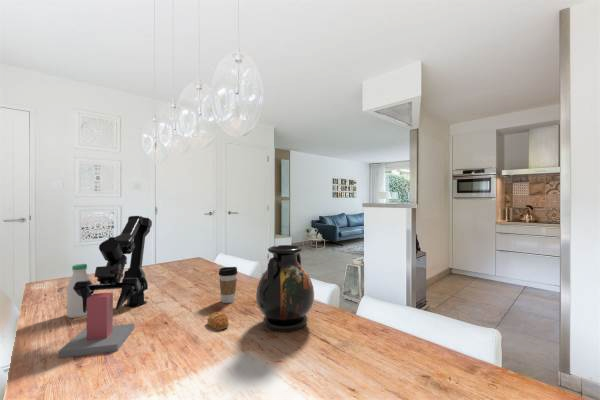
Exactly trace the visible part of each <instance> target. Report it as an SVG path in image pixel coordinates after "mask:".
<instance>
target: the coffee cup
mask: <svg viewBox="0 0 600 400" xmlns="http://www.w3.org/2000/svg"><path fill="white" fill-rule="evenodd" d="M237 275H238V267H237V266H227V267H226V266H224V267H220V268H219V270H218V276H219V289H220V300H221V303H222V304H230V303H234V302H235V301H236V291H237V277H238V276H237Z"/></svg>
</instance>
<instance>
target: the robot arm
mask: <svg viewBox="0 0 600 400" xmlns="http://www.w3.org/2000/svg"><path fill="white" fill-rule="evenodd" d="M126 222H127V223H126V224H125V225H124V227H123V229H122V231H121V233H120V234H119V235H117V236H112V237H110V236H109V237H108V239H106V240H104V241H102V242H101V243H100V244H99V246H98V250H99V251H100V253H101V256H102V258H103V259H104V261H106V265H103V266H96V267H95V270H94V271H95V272H94V276H93V277H94V278H97V279H96V280H97V282H99V283H92V281H91V280H90V281H78V282H76V283H75V284H74V287H73V289H74V290H75V292H76V293H77V294H78V296H81V297H82V300H83V312H84V313H86V311H87V298H88V297H90V296H91V295H93V294H94V292H95V291H102V290H115V289H116V290H118V289H119V290H121V292H120V295H119V297H118V300H117V303H116V308H115V310H116V311H118V310H120V308H121V307H122V306H125V307H130V308H136V307H138V306H141V305H144V304H147V301H146V300H145V291H147V290H148V287H149V285H148V284H149V283H148V280H147V278H146V273H145V272H144V270H143V260H144V251H145V243H146V237H147V236H148V234H149V233H150V231H151V228H152V227H153V221H152V219H150V218H149V217H144V216H141V215H130V216H128V218H127V221H126ZM130 254H131V255H130ZM126 255H130V257H131V258H130V263H129V268H128V269H127V270H125V267H126V265H128V261H127V260H128V257H127V256H126ZM121 279H122V280H121ZM126 301H127V302H126Z"/></svg>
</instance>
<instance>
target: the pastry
mask: <svg viewBox="0 0 600 400" xmlns="http://www.w3.org/2000/svg"><path fill="white" fill-rule="evenodd" d="M207 324H208V326H209V327H210V328H212V329H213V330H217V331H221V330H223V329H226V328H228V326H229V325H230V324H229V319H228V316H227V315H226V314H225V313H223V312H221V311H215V312H212V313H211V314H210V315H209V316H208V318H207Z"/></svg>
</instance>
